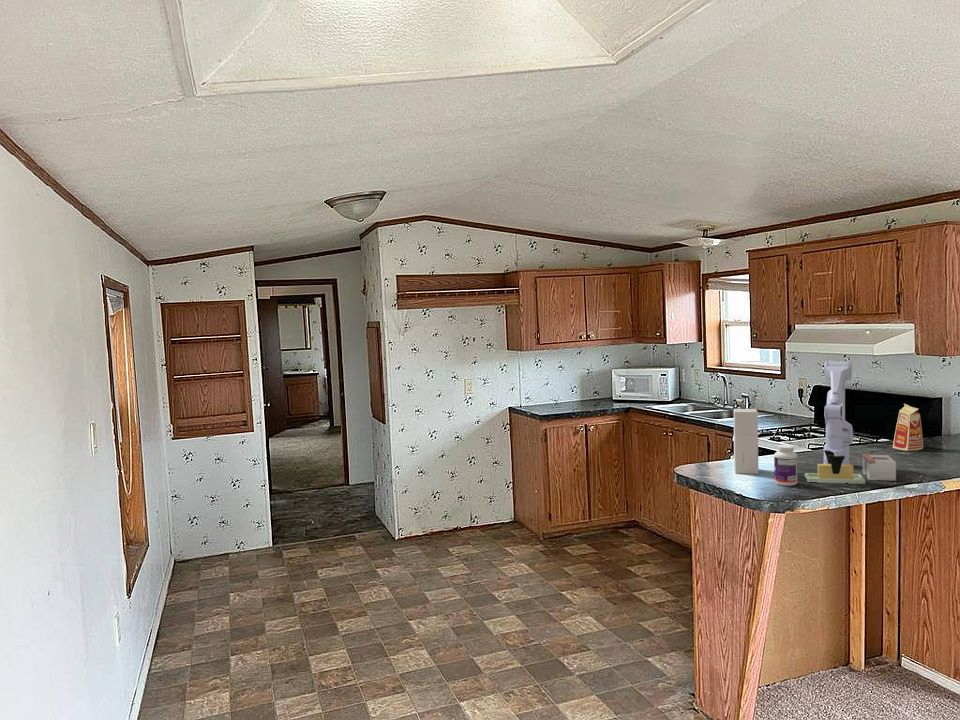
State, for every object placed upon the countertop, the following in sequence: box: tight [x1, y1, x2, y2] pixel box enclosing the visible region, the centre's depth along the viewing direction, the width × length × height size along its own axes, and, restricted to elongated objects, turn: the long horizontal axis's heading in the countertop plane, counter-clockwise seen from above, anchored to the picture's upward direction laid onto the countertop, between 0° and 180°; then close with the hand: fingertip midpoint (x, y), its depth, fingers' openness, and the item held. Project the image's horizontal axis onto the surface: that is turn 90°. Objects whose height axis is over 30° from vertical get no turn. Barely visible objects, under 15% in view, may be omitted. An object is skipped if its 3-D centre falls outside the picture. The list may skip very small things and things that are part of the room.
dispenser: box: [861, 453, 897, 482], centre depth 297 cm, size 9×13×7 cm
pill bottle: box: [773, 444, 798, 487], centre depth 290 cm, size 8×8×14 cm
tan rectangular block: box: [817, 463, 854, 479], centre depth 293 cm, size 12×3×6 cm, turn 74°
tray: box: [804, 472, 866, 485], centre depth 294 cm, size 20×10×2 cm, turn 74°
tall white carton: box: [733, 408, 759, 475], centre depth 313 cm, size 9×9×25 cm
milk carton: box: [892, 403, 924, 452], centre depth 345 cm, size 9×9×20 cm
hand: (834, 471), depth 293 cm, fingers open, 7 cm apart
